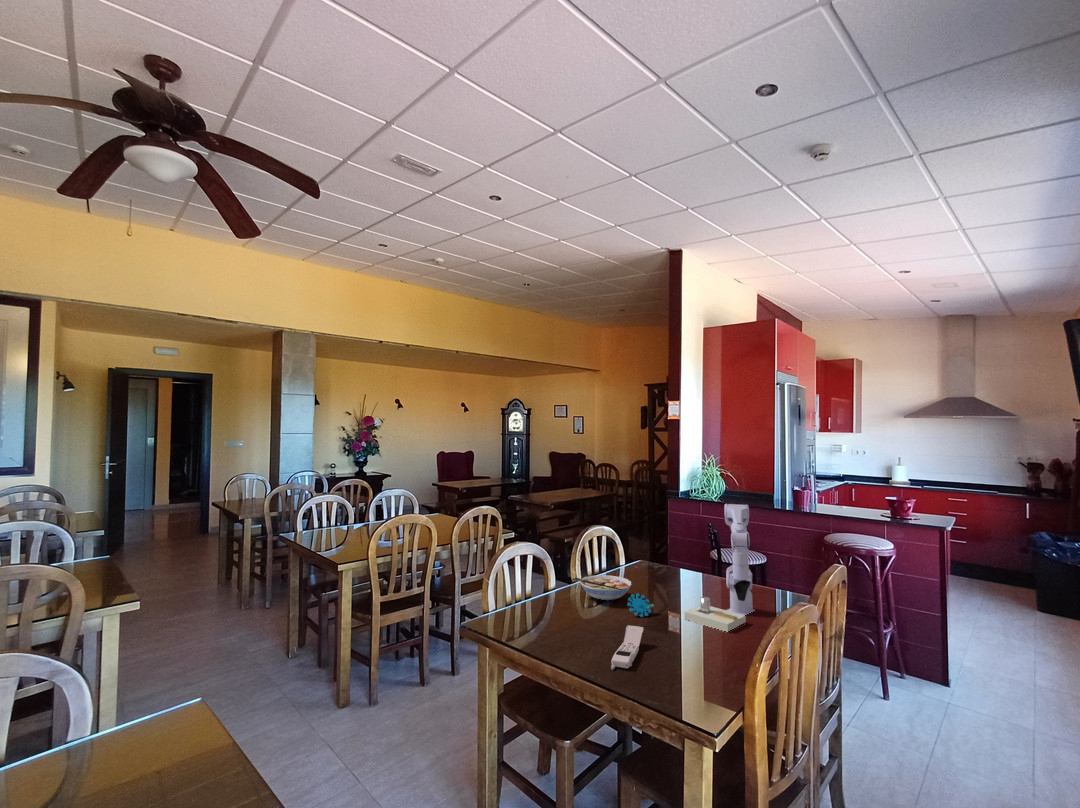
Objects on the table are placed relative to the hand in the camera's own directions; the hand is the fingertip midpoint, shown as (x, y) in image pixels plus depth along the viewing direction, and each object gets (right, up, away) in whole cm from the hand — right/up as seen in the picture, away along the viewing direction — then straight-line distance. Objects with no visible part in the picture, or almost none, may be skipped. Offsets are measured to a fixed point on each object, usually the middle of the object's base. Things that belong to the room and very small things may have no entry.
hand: (741, 600), depth 196 cm
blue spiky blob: (-36, -10, +11) cm, 39 cm away
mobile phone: (-49, -8, -29) cm, 57 cm away
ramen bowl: (-48, -12, +32) cm, 59 cm away
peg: (-12, -10, +6) cm, 17 cm away
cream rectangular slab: (-9, -10, +3) cm, 14 cm away
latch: (-6, -6, 0) cm, 9 cm away
